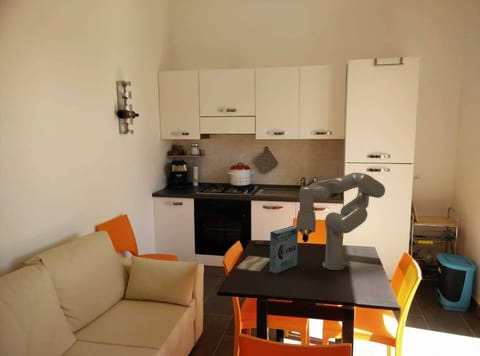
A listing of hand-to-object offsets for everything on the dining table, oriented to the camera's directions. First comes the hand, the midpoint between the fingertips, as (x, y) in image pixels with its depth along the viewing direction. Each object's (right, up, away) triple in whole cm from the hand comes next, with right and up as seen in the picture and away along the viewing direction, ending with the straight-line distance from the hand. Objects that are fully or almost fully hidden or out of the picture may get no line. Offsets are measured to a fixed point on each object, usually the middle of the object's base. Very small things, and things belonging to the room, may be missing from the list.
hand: (305, 241), depth 204 cm
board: (-28, -15, +13) cm, 35 cm away
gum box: (-11, -17, +7) cm, 21 cm away
